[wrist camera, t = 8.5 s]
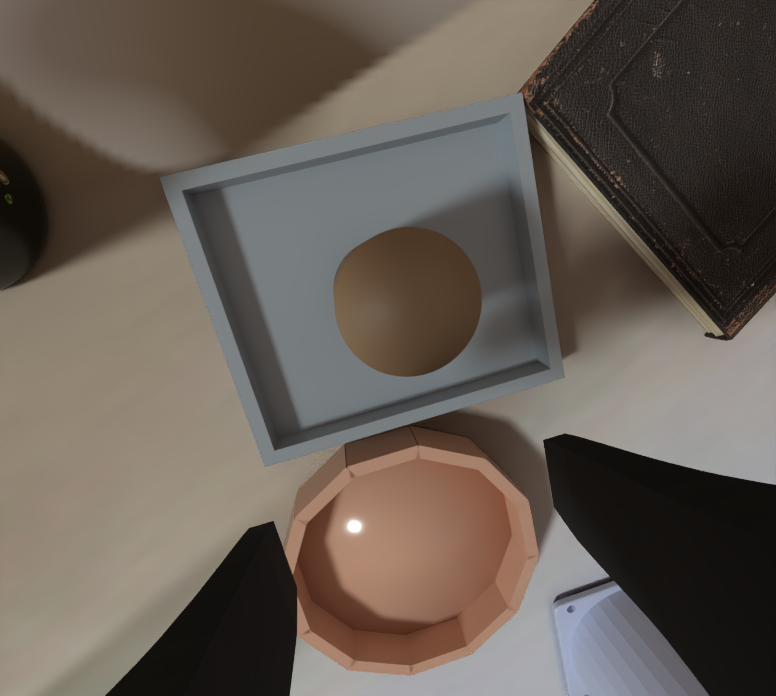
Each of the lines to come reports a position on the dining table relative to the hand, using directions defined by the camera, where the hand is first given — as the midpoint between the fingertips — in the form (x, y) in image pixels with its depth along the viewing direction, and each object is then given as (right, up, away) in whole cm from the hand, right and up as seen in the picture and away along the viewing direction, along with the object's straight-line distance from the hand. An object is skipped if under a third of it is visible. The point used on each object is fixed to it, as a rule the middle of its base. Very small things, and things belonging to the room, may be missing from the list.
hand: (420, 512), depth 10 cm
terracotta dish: (0, -6, +11) cm, 12 cm away
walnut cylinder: (-1, +7, +7) cm, 10 cm away
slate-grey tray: (-1, +7, +8) cm, 11 cm away
